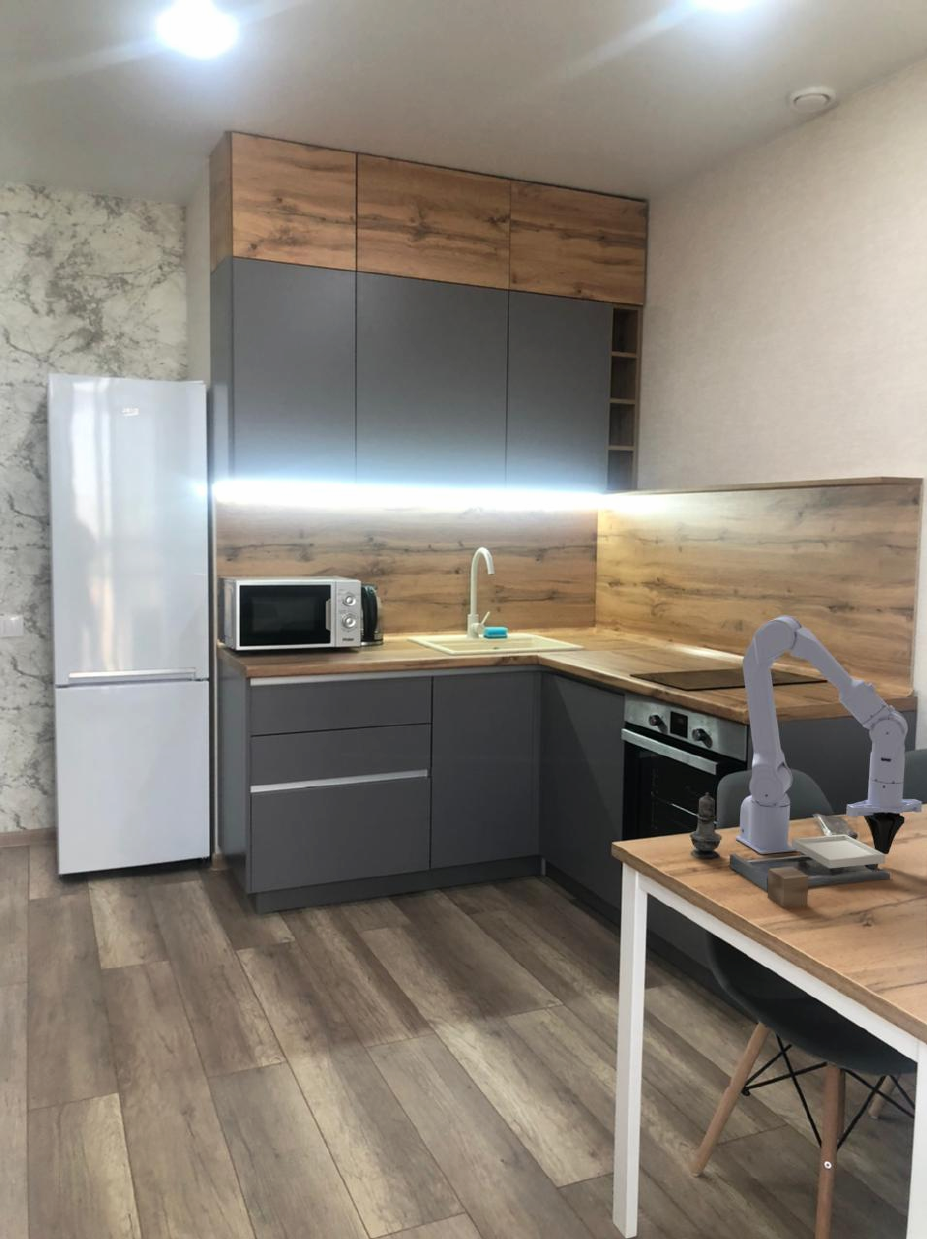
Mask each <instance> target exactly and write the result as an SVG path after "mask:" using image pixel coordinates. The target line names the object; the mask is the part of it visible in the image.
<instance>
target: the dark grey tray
mask: <svg viewBox="0 0 927 1239" xmlns="http://www.w3.org/2000/svg"><path fill="white" fill-rule="evenodd" d="M728 866H729V868H730V869H732V870H733V871H735V872H736V873H738V874H740V875H741V876H742V877H744V878H745V879H747V880H748V881H750V882H751V883H753V885H755V886H757V887H759V888H760V889H762V890H763V891H765V892H767V893H768V877H769V869H774V868H784V867H794V868H796V869H797V870H799V871H801V872H802V873H804V874H806V875H807V876H809V881H808V888H812V887H813V888H814V887H815V888H816V887H823V886H822V885H825V886H831V885H830V884H834V885H840V884H839V883H843V884H851V883H850V882H853V883H861V882H860V881H862V882H869V881H870V880H872V881H880V879H881V880H889V879H891V873H889V872H888V870H887V869H886V868H880V867H877V869H875V870H870V869H868V868H866V866H865V865H858V866H848V867H844V870H843V872H842V873H840V874H836V873H834V872H833V871H831V869H830V868H828V867H826V866H824V865H823V864H821V863H819V862H817V861H816V860H814V859H812V858H810V857H808V856H807V855H803V854H801V855H792V856H781V857H771V858H761V859H750V860H746V859H744V858H743V857H741V856H739V855H738V854H736V853H730V854H729V865H728Z"/></svg>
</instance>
